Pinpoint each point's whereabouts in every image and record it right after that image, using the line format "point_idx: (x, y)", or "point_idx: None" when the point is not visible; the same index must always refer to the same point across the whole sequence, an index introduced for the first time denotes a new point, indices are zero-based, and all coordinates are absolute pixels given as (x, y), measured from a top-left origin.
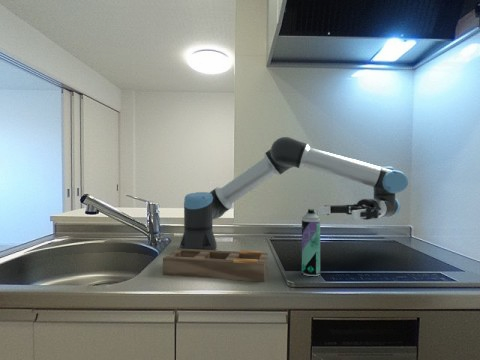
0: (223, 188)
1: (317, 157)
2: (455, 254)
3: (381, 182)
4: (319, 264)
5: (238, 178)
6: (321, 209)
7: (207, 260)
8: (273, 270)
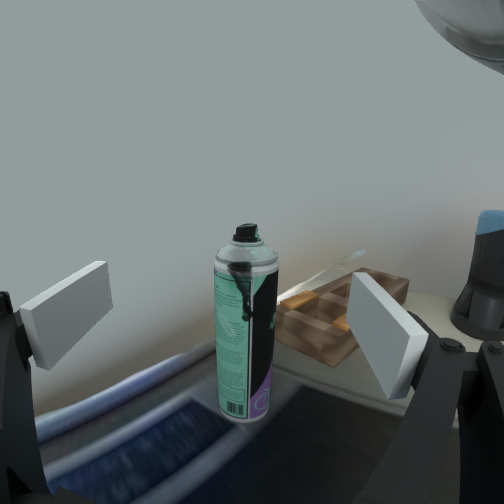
0: None
1: None
2: None
3: None
4: (218, 387)
5: None
6: (361, 300)
7: (332, 282)
8: (315, 369)
